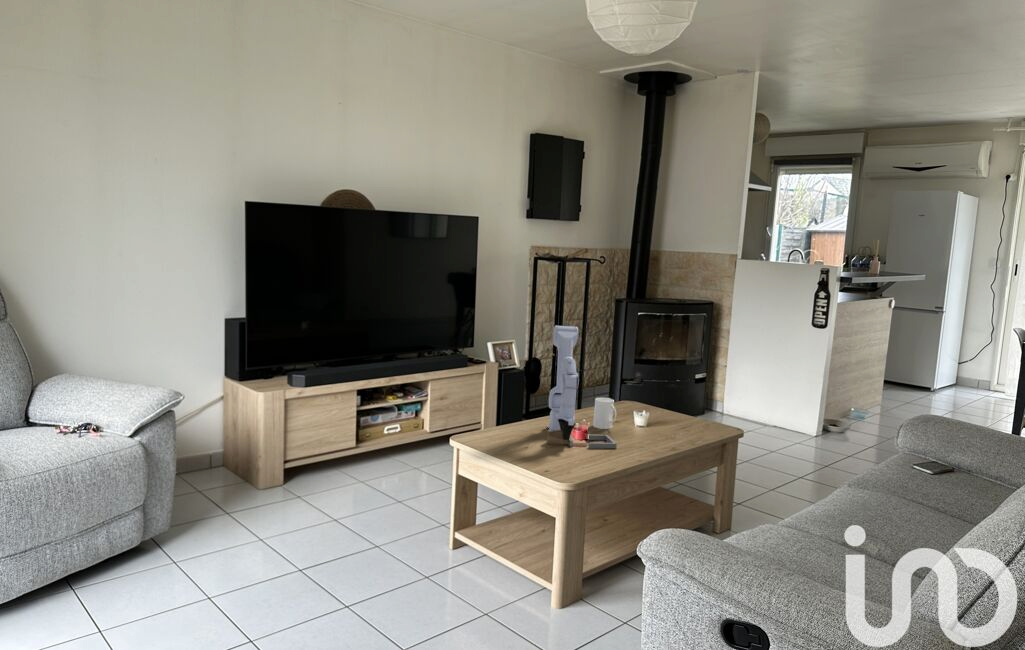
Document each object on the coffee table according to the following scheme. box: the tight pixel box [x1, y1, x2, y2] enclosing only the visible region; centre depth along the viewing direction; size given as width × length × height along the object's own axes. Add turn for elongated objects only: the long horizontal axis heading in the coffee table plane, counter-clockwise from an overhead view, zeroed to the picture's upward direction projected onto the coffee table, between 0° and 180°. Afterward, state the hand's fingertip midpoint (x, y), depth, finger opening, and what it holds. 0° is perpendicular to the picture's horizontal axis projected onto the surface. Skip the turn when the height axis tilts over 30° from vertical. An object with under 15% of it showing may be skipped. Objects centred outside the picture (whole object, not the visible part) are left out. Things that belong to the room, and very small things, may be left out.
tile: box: [571, 438, 588, 447], centre depth 282 cm, size 6×6×2 cm
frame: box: [588, 434, 618, 449], centre depth 283 cm, size 12×11×2 cm
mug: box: [592, 397, 617, 430], centre depth 308 cm, size 12×8×12 cm
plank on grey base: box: [546, 429, 574, 448], centre depth 280 cm, size 8×9×5 cm
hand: (565, 438), depth 280 cm, fingers closed on plank on grey base, 2 cm apart
